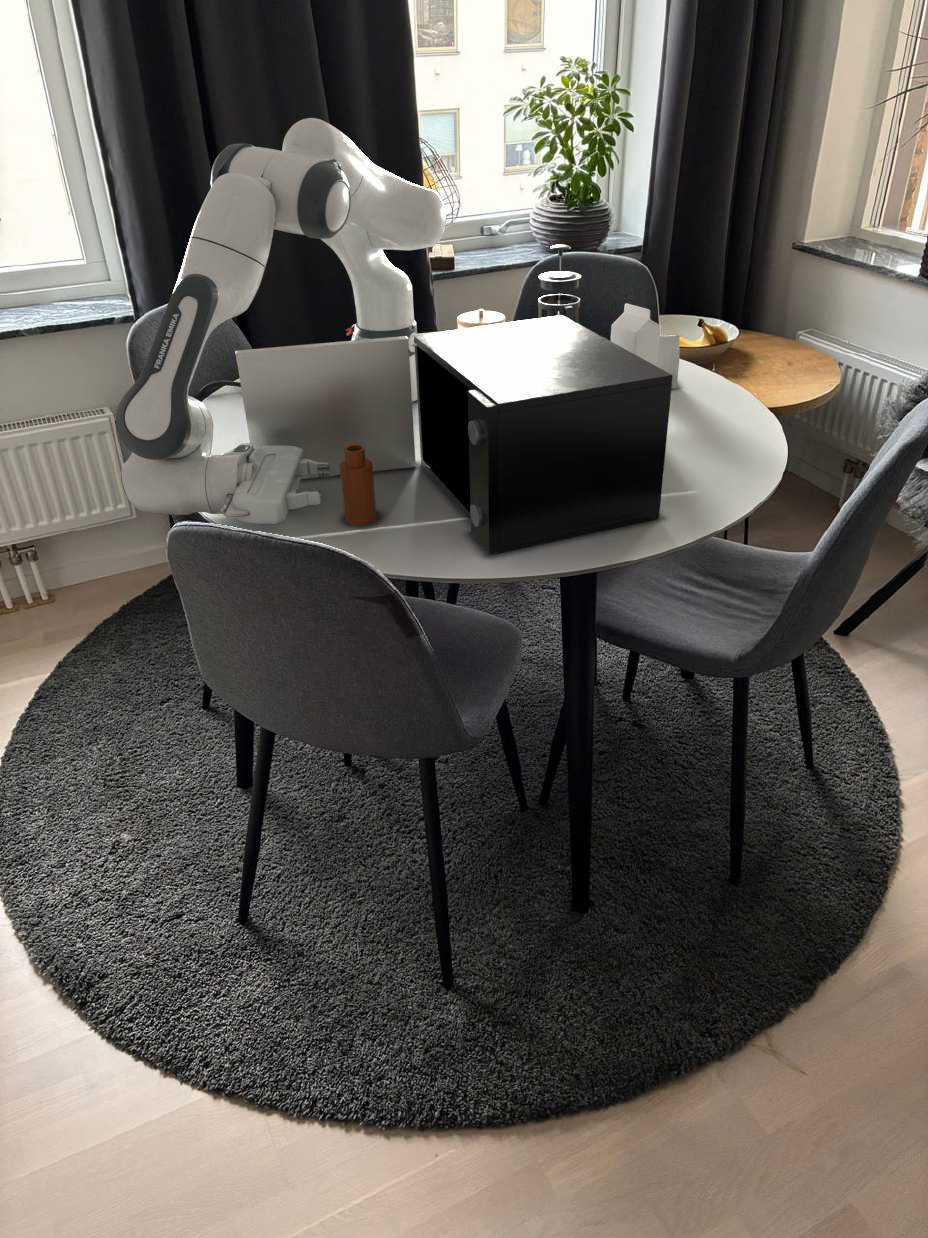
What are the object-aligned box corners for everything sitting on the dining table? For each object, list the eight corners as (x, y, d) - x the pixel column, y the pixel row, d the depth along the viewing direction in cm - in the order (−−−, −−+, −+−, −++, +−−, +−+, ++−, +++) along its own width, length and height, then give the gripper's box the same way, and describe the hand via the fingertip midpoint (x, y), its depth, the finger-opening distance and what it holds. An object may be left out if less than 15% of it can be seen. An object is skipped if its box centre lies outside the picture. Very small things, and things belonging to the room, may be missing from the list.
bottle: (339, 522, 142) (331, 451, 136) (356, 509, 146) (349, 440, 139) (366, 528, 140) (359, 456, 134) (382, 515, 144) (376, 444, 138)
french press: (529, 350, 211) (530, 242, 199) (568, 345, 213) (571, 238, 201) (548, 365, 202) (550, 253, 189) (588, 360, 204) (593, 249, 191)
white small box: (676, 387, 188) (681, 338, 182) (642, 389, 188) (646, 339, 182) (672, 381, 191) (677, 332, 185) (639, 383, 191) (643, 333, 185)
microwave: (484, 556, 132) (481, 406, 120) (407, 467, 159) (399, 337, 147) (659, 518, 140) (672, 374, 128) (558, 439, 167) (562, 314, 155)
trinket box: (511, 346, 214) (511, 304, 209) (497, 360, 206) (496, 317, 200) (466, 343, 217) (465, 301, 212) (451, 357, 209) (449, 314, 203)
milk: (628, 438, 167) (637, 313, 154) (604, 429, 171) (611, 306, 158) (652, 430, 170) (663, 306, 157) (628, 420, 174) (636, 299, 161)
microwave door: (256, 467, 160) (235, 340, 148) (409, 451, 164) (401, 326, 152) (256, 484, 154) (235, 353, 142) (415, 466, 158) (408, 338, 147)
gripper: (213, 495, 130) (312, 493, 129) (244, 438, 147) (332, 436, 147) (220, 535, 133) (317, 534, 133) (251, 475, 150) (336, 474, 150)
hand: (325, 482), depth 140 cm, fingers open, 8 cm apart
